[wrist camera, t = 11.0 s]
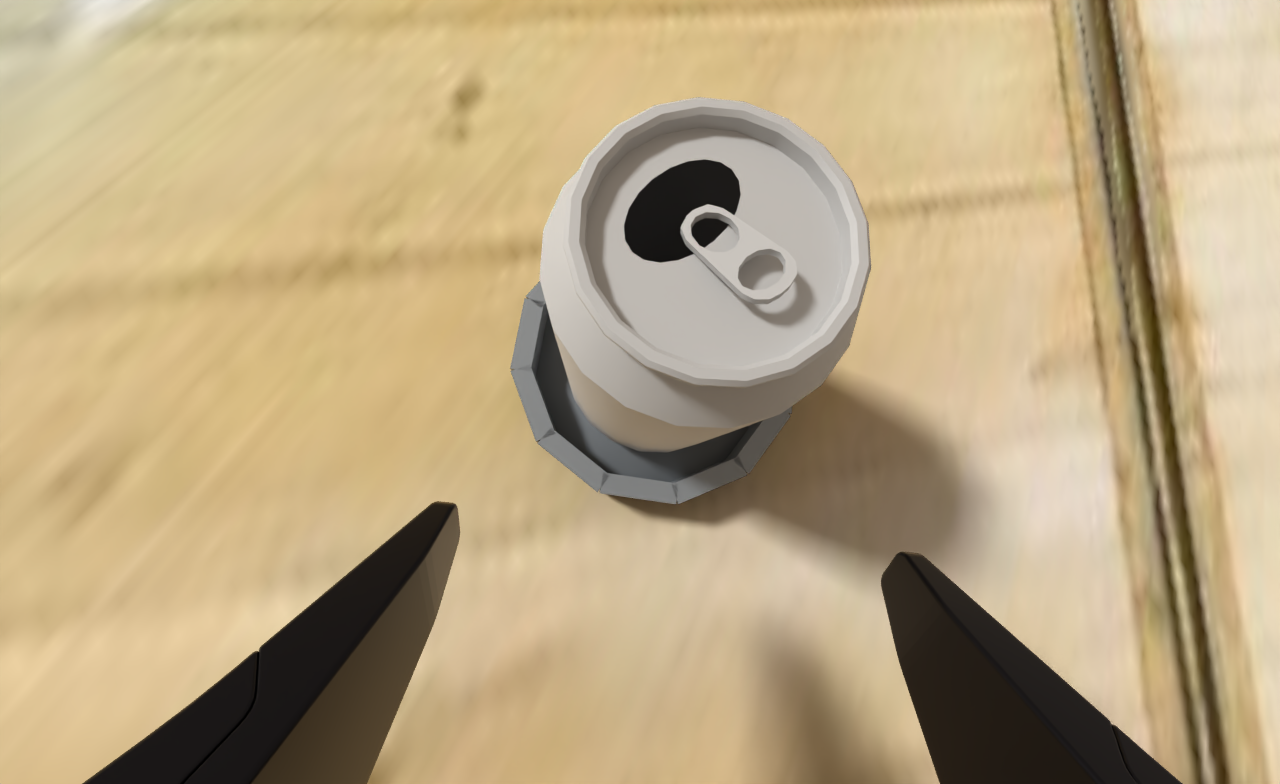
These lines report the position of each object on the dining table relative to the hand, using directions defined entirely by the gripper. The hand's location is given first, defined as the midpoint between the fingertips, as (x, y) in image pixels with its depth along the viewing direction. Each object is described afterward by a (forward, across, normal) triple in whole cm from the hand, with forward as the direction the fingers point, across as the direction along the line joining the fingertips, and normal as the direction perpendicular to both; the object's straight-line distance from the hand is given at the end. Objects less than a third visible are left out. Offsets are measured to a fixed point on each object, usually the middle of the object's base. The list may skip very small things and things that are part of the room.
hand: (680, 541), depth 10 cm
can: (+12, 0, +3) cm, 12 cm away
